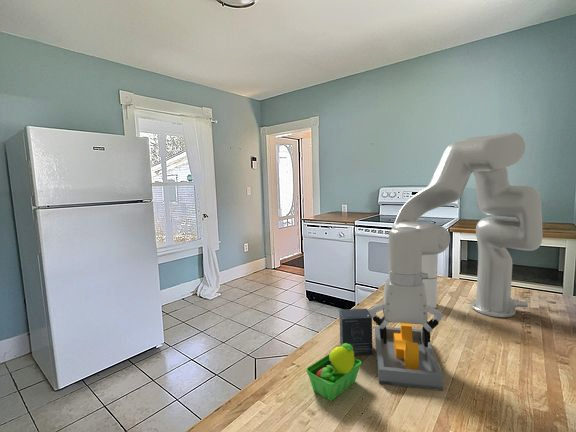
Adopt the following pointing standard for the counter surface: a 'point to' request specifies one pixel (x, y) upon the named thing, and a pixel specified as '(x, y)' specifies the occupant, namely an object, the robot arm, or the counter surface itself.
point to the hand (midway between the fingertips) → (404, 342)
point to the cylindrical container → (430, 278)
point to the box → (356, 330)
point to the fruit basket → (334, 372)
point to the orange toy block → (407, 347)
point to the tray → (394, 368)
